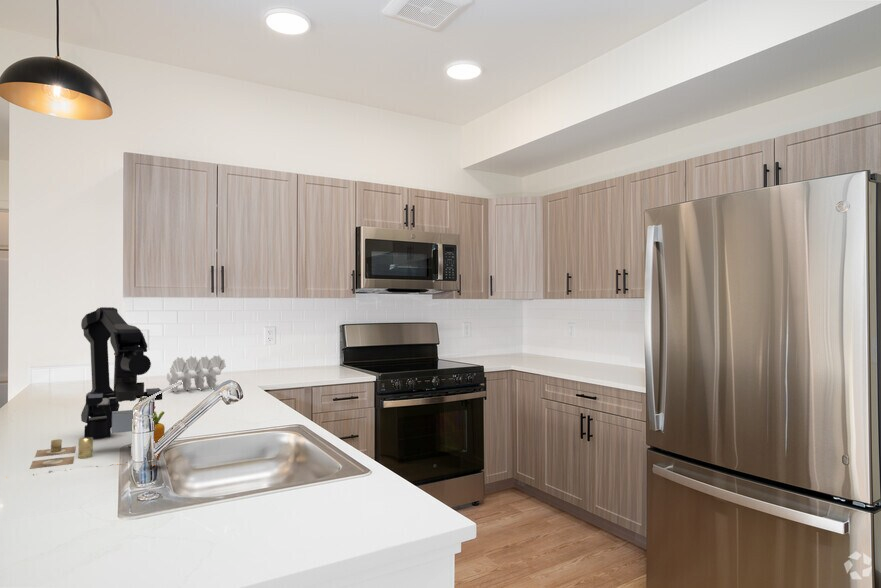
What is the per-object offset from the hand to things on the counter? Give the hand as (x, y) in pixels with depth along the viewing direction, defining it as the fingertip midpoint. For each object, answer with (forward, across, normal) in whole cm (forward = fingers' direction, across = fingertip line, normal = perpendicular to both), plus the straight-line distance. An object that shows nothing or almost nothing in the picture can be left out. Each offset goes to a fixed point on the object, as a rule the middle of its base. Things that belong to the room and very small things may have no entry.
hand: (123, 426), depth 152 cm
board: (+8, -16, +6) cm, 19 cm away
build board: (+8, -16, -6) cm, 19 cm away
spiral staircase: (+8, +34, +112) cm, 117 cm away
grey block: (+1, 0, 0) cm, 1 cm away
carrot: (+8, +6, -20) cm, 22 cm away
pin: (+8, -9, -4) cm, 12 cm away
